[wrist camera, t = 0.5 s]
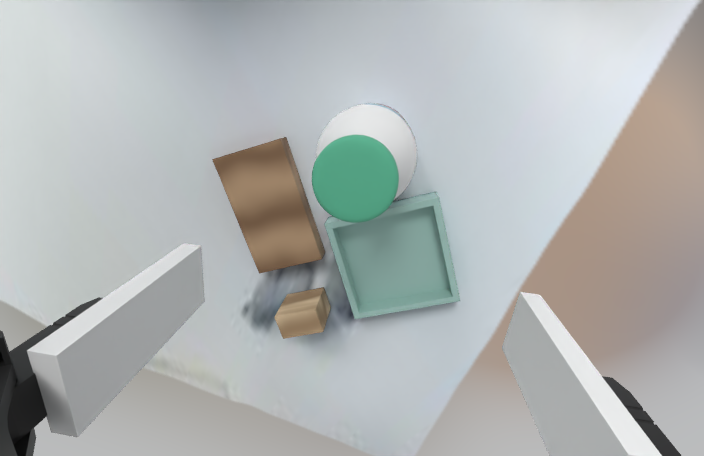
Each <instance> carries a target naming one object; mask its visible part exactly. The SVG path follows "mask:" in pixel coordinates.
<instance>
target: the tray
mask: <svg viewBox="0 0 704 456" xmlns="http://www.w3.org/2000/svg"><path fill="white" fill-rule="evenodd" d="M325 227H326V231H327V234H328V237H329V240H330V243H331V246H332V249H333V252H334V256H335V259H336V262H337V265H338V268H339V271H340V274H341V277H342V281H343V284H344V287H345V290H346V293H347V296H348V299H349V302H350V306H351V309H352V312H353V315H354V318H355V319H360V318H365V317H371V316H377V315H383V314H388V313H394V312H400V311H406V310H411V309H417V308H423V307H429V306H434V305H440V304H446V303H452V302H457V301H460V297H459V293H458V288H457V283H456V278H455V273H454V268H453V263H452V259H451V254H450V249H449V244H448V239H447V234H446V229H445V225H444V220H443V215H442V210H441V205H440V200H439V197H438V195H437V193H436V192H432V193H428V194H424V195H420V196H415V197H411V198H407V199H403V200H399V201H394V202H392V204H391V205H390V206H389V208H388V209H387V210H386V211H385V212H384V213H382V214H381V215H380V216H378V217H376V218H374V219H372V220H369V221H366V222H360V223H352V222H346V221H342V220H339V219H337V218H335V217H333V216H331V217H328V219H327V221H326V222H325Z"/></svg>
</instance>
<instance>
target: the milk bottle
mask: <svg viewBox="0 0 704 456" xmlns="http://www.w3.org/2000/svg"><path fill="white" fill-rule="evenodd" d="M416 164H417V148H416V142H415V138H414V135H413V133H412V131H411V129H410V127H409V125H408V124H407V122H406V121H405V119H404V118H403V117H402V116H401V115H400V114H399V113H398V112H397V111H396V110H394V109H392V108H391V107H388V106H386V105H382V104H360V105H356V106H353V107H350V108H348V109H346V110H344V111H342V112H340V113H339V114H338V115H336V116H335V117H334V118H333V119H332V120H331V121H330V122H329V123H328V124H327V126H326V127H325V129H324V130H323V132H322V134H321V136H320V138H319V141H318V145H317V149H316V161H315V164H314V167H313V171H312V186H313V190H314V194H315V196H316V198H317V200H318V202H319V203H320V205H321V206H322V207H323V209H324V210H325V211H327V212H328V213H329V214H330V215H332V216H333V217H335V218H337V219H339V220H342V221H346V222H352V223H360V222H366V221H369V220H372V219H374V218H376V217H378V216H380V215H381V214H382V213H384V212H385V211H386V210H387V209H388V208H389V206H390V205H391V204H392V202H393V200H394V199H396V198H397V197H398V196H399V195H400V194H402V193H403V191H404V190H405V189H406V188H407V186H408V185H409V183H410V181H411V179H412V177H413V175H414V172H415V169H416Z"/></svg>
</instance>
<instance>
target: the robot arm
mask: <svg viewBox="0 0 704 456" xmlns="http://www.w3.org/2000/svg"><path fill="white" fill-rule="evenodd" d="M203 303H204V285H203V268H202V252H201V246H200V245H193V244H187V243H183V244H182V245H180V246H179V247H177V248H176V249H174V250H173V251H171V252H170V253H169V254H167V255H166V256H164V257H163V258H161V259H160V260H158V261H157V262H155V263H154V264H152V265H151V266H150V267H148V268H147V269H145V270H144V271H142V272H141V273H139V274H138V275H136V276H135V277H133V278H132V279H131V280H129V281H128V282H126V283H125V284H123V285H122V286H120V287H119V288H117V289H116V290H115V291H113V292H112V293H110V294H109V295H107V296H106V297H104V298H97V299H94V300H92V301H89V302H87V303H84V304H82V305H80V306H78V307H77V308H75V309H74V310H72V311H71V312H69V313H68V314H66V316H65V317H62V318H60V319H59V320H57V321H56V322H54V323H53V325H50V326H48V327H47V328H45V329H44V330H42V331H40V332H39V333H37V334H36V335H34V336H33V337H31V338H30V339H28V340H27V341H25V342H24V343H22V344H21V345H19V346H18V347H16V348H15V349H13V350H12V351H10V352H9V350H8V347H7V344H6V341H5V337H4V334H3V332H2V331H0V456H33V452H34V446H35V440H36V435H35V430H34V427H35V426H36V425H37V424H38V423H39V422H41V421H42V420H43V419H44V418H45V417H46V416H47V420H48V423H49V426H50V430H51V432H53V433H58V434H63V435H69V436H74V437H79V435H80V434H81V433H82V432H83V431H84V430H85V429H86V428H87V427H88V426H89V425H90V424H91V422H92V421H93V420H94V419H95V418H96V417H97V416H98V415H99V414H100V413H101V412H102V411H103V410H104V408H106V406H107V405H108V404H109V403H110V402H111V401H112V400H113V399H114V398H115V397H116V396H117V395H118V394H119V393H120V391H121V390H122V389H123V388H124V387H125V386H126V385H127V384H128V383H129V382H130V381H131V380H132V379H133V378H134V376H135V375H136V374H137V373H138V372H139V371H140V370H141V369H142V368H143V367H144V366H145V365H146V364H147V363H148V361H149V360H150V359H151V358H152V357H153V356H154V355H155V354H156V353H157V352H158V351H159V350H160V349H161V348H162V346H163V345H164V344H165V343H166V342H167V341H168V340H169V339H170V338H171V337H172V336H173V335H174V334H175V333H176V331H177V330H178V329H179V328H180V327H181V326H182V325H183V324H184V323H185V322H186V321H187V320H188V319H189V318H190V316H191V315H192V314H193V313H194V312H195V311H196V310H197V309H198V308H199V307H200V306H201V305H202V304H203ZM502 349H503V351H504V353H505V356H506V358H507V361H508V363H509V365H510V367H511V369H512V372H513V374H514V376H515V379H516V381H517V383H518V385H519V388H520V390H521V392H522V395H523V397H524V399H525V401H526V403H527V405H528V408H529V410H530V413H531V415H532V417H533V419H534V422H535V424H536V426H537V428H538V431H539V433H540V435H541V438H542V439H543V442H544V444H545V446H546V449H547V451H548V453H549V456H681V454H680V453H679V452H678V451H677V450H676V448H675V447H674V446H673V445H672V443H671V442H670V441H669V440H668V439H667V437H666V436H665V435H664V434H663V433H662V431H661V430H660V429H659V428H658V426H657V425H654V423H653V422H654V421H653V420H652V419H651V418H650V416H649V415H648V414H647V413H646V411H643V408H642V406H641V405H640V404H639V403H638V402H637V400H636V399H635V398H634V397H633V395H632V394H631V393H630V392H629V391H628V390H626V389H625V388H624V387H623V386H621V385H620V384H619V383H618V382H617V381H615V380H614V379H613V378H610V377H603V376H601V375H600V373H599V372H598V371H597V369H596V368H595V367H594V366H593V364H592V363H591V361H590V360H589V359H588V358H587V356H586V355H585V354H584V352H583V351H582V350H581V348H580V347H579V346H578V344H577V343H576V342H575V340H574V339H573V338H572V336H571V335H570V334H569V332H568V331H567V330H566V328H565V327H564V326H563V324H562V323H561V322H560V320H559V319H558V318H557V317H556V315H555V314H554V313H553V311H552V310H551V309H550V307H549V306H548V305H547V303H546V302H545V301H544V299H543V298H542V297H541V295H538V294H530V293H524V292H520V294H519V297H518V301H517V303H516V306H515V309H514V312H513V316H512V319H511V322H510V325H509V328H508V331H507V334H506V337H505V340H504V343H503V346H502Z"/></svg>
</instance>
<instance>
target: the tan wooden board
mask: <svg viewBox="0 0 704 456" xmlns="http://www.w3.org/2000/svg"><path fill="white" fill-rule="evenodd" d="M212 160H213V162H214V165H215V167H216V169H217V172H218V174H219V177H220V179H221V182H222V184H223V186H224V189H225V191H226V194H227V196H228V199H229V201H230V203H231V206H232V208H233V211H234V213H235V216H236V218H237V220H238V223H239V225H240V228H241V230H242V233H243V235H244V237H245V240H246V242H247V245H248V247H249V250H250V252H251V254H252V257H253V259H254V262H255V264H256V267H257V269H258V271H259V273H263V272H268V271H272V270H276V269H281V268H285V267H290V266H294V265H299V264H303V263H307V262H312V261H316V260H321V259H322V258H323V256H324V254H325V250H324V247H323V244H322V241H321V238H320V236H319V233H318V230H317V227H316V224H315V221H314V218H313V215H312V212H311V209H310V206H309V203H308V200H307V197H306V194H305V191H304V188H303V186H302V183H301V180H300V177H299V174H298V171H297V168H296V165H295V162H294V159H293V156H292V153H291V150H290V147H289V144H288V141H287V138H286V137H284V138H281V139H278V140H274V141H271V142H268V143H265V144H261V145H258V146H255V147H252V148H248V149H245V150H242V151H238V152H235V153H232V154H229V155H225V156H222V157H219V158H216V159H212Z"/></svg>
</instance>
